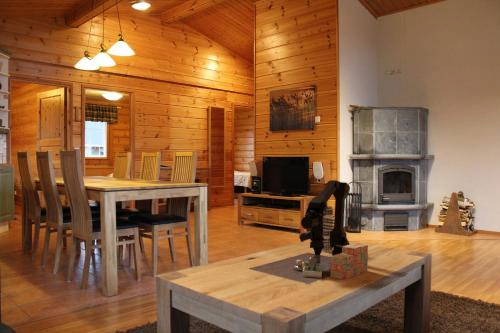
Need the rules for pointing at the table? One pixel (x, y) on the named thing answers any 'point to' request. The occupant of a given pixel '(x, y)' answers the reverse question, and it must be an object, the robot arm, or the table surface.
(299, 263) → the crank
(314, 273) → the tray
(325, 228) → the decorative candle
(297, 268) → the crank base
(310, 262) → the dark metal cylinder
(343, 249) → the stack of blocks
